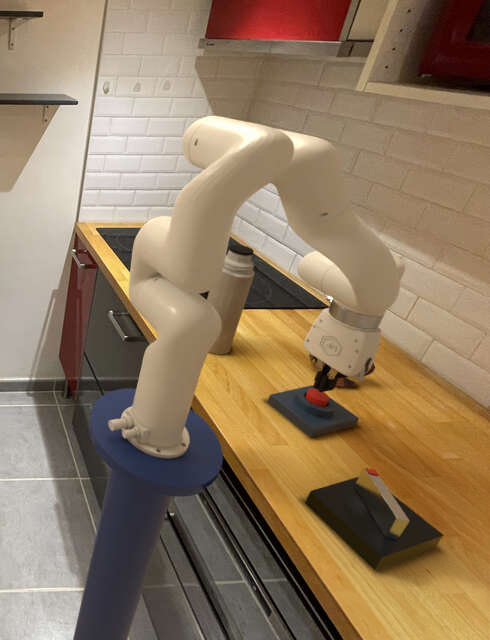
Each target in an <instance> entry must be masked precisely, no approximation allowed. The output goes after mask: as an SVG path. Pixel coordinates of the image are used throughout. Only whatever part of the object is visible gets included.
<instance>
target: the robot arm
mask: <svg viewBox="0 0 490 640" xmlns="http://www.w3.org/2000/svg"><path fill="white" fill-rule="evenodd" d="M181 153H182V155H183V157H184V158H185V160H186V161H187V162H188V163H189V164H191V165H192V166H194V167H196V168H199V169H202V171H201V172H200V173H198V174H197V175H196V176H195V177H193V179H191V180H190V181H189V182H188V183H187V184H186V185H185V186H184V187H183V188H182V189H181V190H180V191H179V193H178V195H177V197H176V199H175V202H174V205H173V208H172V214H171V216H169V215H161V216H157V217H154V218H152V219H149V220H148V221H147V222H146V223H144V225H142V227H141V228H140V229H139V231H138V233H137V234H136V236H135V238H134V241H133V246H132V253H131V260H130V261H131V262H130V271H129V281H128V296H129V297H128V298H129V300H130V303H131V305H132V306H133V308H134V309H135V310H136V311H137V313H138V314H140V315H141V316H142V317H143V318H144V320H146V321H147V322H148V323H149V325H150V326H151V327H152V328H153V329H154V330H155V332H156V334H157V338H156V339H155V340H154V341H152V342H151V343H150V344H149V345H148V346H147V347H146V348H145V350H144V353H143V358H142V363H141V368H140V372H139V375H138V379H137V380H138V381H137V385H136V388H135V389H136V393H135V397H134V401H133V406H131V407H129V408H127V409H126V410H125V411H124V412H123V413H122V416H121V419H114V420H109V422H108V425H109V428H110V430H112V431H115V430H119V429H122V435H123V437H124V438H127V440H128V441H129V442H130V443H131V444H132V445H134V446H135V447H136V448H138V449H139V450H141V451H143V452H144V453H146V454H149V455H152V456H155V457H159V458H166V459H168V458H176V457H179V456H181V455H183V454H184V453H185V452H186V451H187V449H188V446H189V443H190V437H189V433H188V431H187V429H186V428H185V423H186V420H187V417H188V413H189V410H190V409H191V406H192V403H193V399H194V396H195V393H196V390H197V386H198V384H199V383H198V382H199V379H200V376H201V372H202V370H203V367H204V364H205V362H206V359H207V357H208V354H209V353H210V352H209V351H210V349H211V348H212V346H213V344H214V343H215V341H216V340H217V338H218V336H219V334H220V332H221V328H222V323H221V318H220V316H219V314H218V312H217V311H216V309H215V308H214V307H213V306H212V305H211V304H210V303H209V302H208V301H207V298H205V297H204V296H202V295H201V294H205V293H207V292H209V291H210V290H211V289H212V288H214V287H215V285H216V284H217V283H218V281H219V279H220V276H221V274H222V270H223V266H224V262H225V257H226V255H227V253H228V252H227V251H228V247H229V242H230V237H231V231H232V228H233V225H234V220H235V217H236V215H237V214H238V212H239V210H240V209H241V207H242V206H243V205H244V204H245V202H247V201H248V200H249V199H250V198H251V197H253V195H254V194H256V193H257V192H259V191H260V190H262V189H263V188H264V187H266V186H267V185H269V184H271V185H273V187H275V188H276V191H277V194H278V197H279V199H280V202H281V205H282V207H283V210H284V213H285V216H286V219H287V222H288V226H289V227H290V229H291V230H292V231H293V233H294V234H296V235H297V236H298V237H299V238H300V239H301V240H302V241H304V243H306V245H308V246H310V247H311V248H312V249H313V250H314V251H311V252H309V253H307V254H306V255H304V256H303V257H302V258H301V259H300V261H299V262H298V264H297V275H298V276H299V278H300V279H301V280H302V281H303V282H304V283H305V284H306V285H308V286H310V287H312V288H314V290H317V291H319V292H320V293H322V294H324V295H326V298H325V301H327V302H328V303H329V307H326V308H324V309H323V310H322V311H321V312H320V313H319V314H318V316H317V318H316V319H315V320H314V322H313V324H312V325H311V327H310V328H309V330H308V332H307V334H306V337H305V339H304V342H303V348H304V349H305V351H306V352H307V353H308V354H309V355H310V354H311V355H312V356H313V357H314V359H313V361H314V362H315V364H316V365H315V370H317V372H316V375H315V377H314V378H313V379H314V380H313V381H314V382H313V384H312V385H313V387H314V388H315V389H318V391H319V392H324V393H326V392H331V391H333V390H334V389H335V388H336V387H337V386H336V383H337V381H338V379H339V378H347V379H349V380H351V381H353V382H356V384H357V383H359V384H360V383H363V382H365V376H364V374H365V373H367V372H368V371H369V370H370V368H371V366H372V364H373V363H375V362H374V361H375V359H376V356H377V353H378V349H379V347H380V342H381V337H382V329H381V328H380V325H381V323H382V321H383V319H384V316H385V314H386V312H387V310H389V309H390V308H391V307H392V306H393V305H394V304H395V303H396V301H397V299H398V296H399V294H400V289H401V283H400V282H401V280H402V278H403V276H404V273H405V271H406V264H405V263H404V262H403V261H402V260H401V259H400V258H399V257H397V256H394V255H393V254H392V252H391V251H390V249H389V248H388V247H387V245H386V244H385V243H384V242H383V241H382V239H380V238H379V236H378V235H377V234H376V233H375V232H374V231H373V230H372V229H371V228H370V227H369V225H368V224H367V223H366V222H365V221H364V220H363V219H362V218H361V217H360V216H359V215H357V213H356V212H355V211H354V208H353V205H352V200H351V197H350V194H349V189H348V186H347V183H346V177H345V174H344V169H343V165H342V161H341V158H340V155H339V152H338V150H337V148H336V147H335V146H334V144H332V143H331V142H329V141H328V140H326V139H323V138H321V137H317V136H313V135H310V134H304V133H299V132H296V131H295V132H294V131H290V130H285V129H280V128H274V127H271V126H269V125H268V126H267V125H265V124H260V123H256V122H250V121H244V120H240V119H234V118H231V117H230V118H229V117H224V116H220V115H208V116H205V117H204V116H203V117H202V118H200V119H197V120H196V121H194V122H192V123H191V125H190V126H188V128H187V129H186V130H185V132H184V133H183V136H182V139H181Z"/></svg>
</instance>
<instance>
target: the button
mask: <svg viewBox="0 0 490 640" xmlns="http://www.w3.org/2000/svg"><path fill="white" fill-rule="evenodd" d="M329 397H330V396H329V395H328V394H327V393H326V392H319V391H318V389H309V390H308V392H307V394H306V396H305V398H306V400H308V401H309V402H311V403H312V404H315V405H317V406H321V407H325V406H326V405H327V403H328V401H329Z"/></svg>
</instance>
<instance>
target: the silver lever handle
mask: <svg viewBox="0 0 490 640" xmlns="http://www.w3.org/2000/svg"><path fill="white" fill-rule="evenodd" d="M358 477H359V478H358V480H357V482H356V483H355V485H354V487H355V489H356V490H357V492H358V494H359V495H360V497H361V499H362V500H363V502H364V503H365V505H366V507H367V508H368V510H369V512H370V513H371V515H372V517H373V518H374V520H375V522H376V523H377V525H378V527H379V528H380V530H381V532H382V533H383V535H384V536H385V538H390V539H394V540H398V538H399V537H400V535H401V534H402V532H403V531H404V529H405V528H406V526H407V524H408V523H409V519H408V518H407V516H406V515H405V513H404V512H403V510H402V509H401V507H400V506H399V504H398V503H397V501H396V500H395V498H394V497H393V496H392V494H393V493H392V492H391V491H390V490H389V488H388V486H387V485H386V484H385V482H384V481H383V479H382V478H381V476H380V474H379V473H378V471H377V469H374V468H369V467H363V468H362V470H361V472H360V474H359V476H358ZM391 493H392V494H391Z"/></svg>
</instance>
